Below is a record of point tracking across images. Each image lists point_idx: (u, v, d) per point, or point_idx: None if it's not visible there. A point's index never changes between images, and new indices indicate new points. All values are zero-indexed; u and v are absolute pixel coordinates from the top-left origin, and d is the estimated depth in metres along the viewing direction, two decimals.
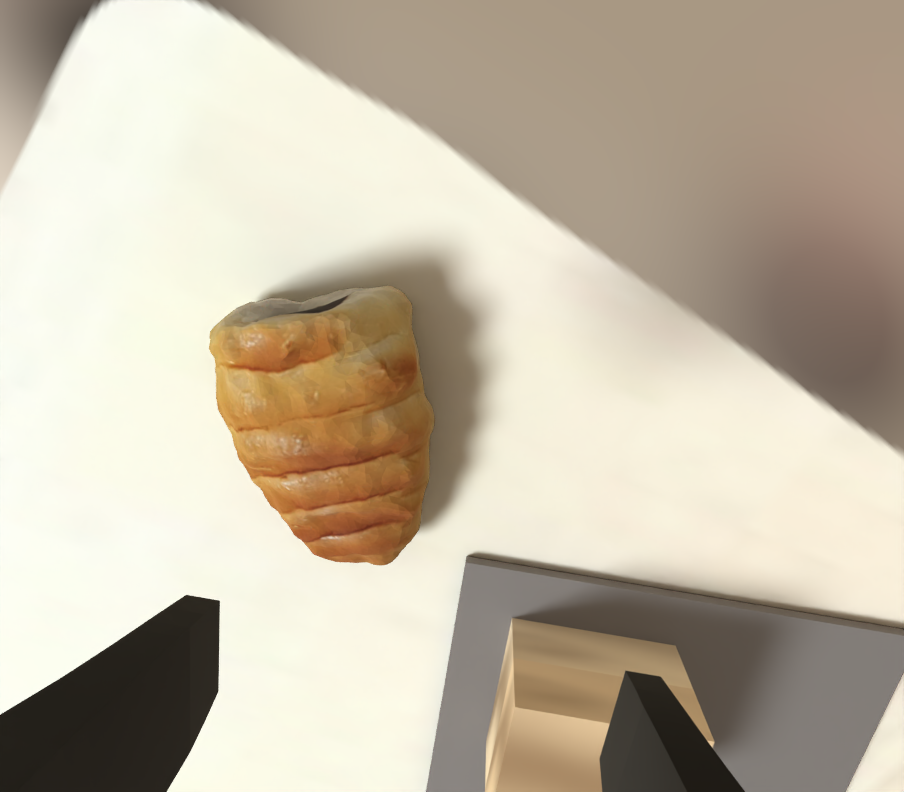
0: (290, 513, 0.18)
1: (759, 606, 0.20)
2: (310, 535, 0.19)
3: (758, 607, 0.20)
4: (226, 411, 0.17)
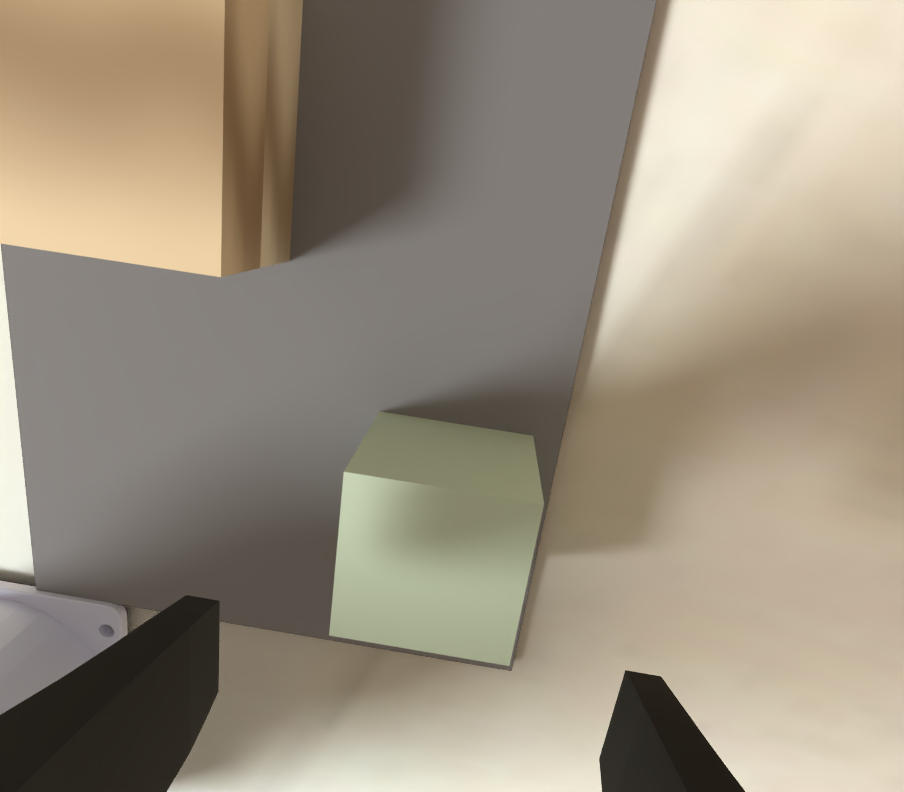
0: None
1: None
2: None
3: None
4: None
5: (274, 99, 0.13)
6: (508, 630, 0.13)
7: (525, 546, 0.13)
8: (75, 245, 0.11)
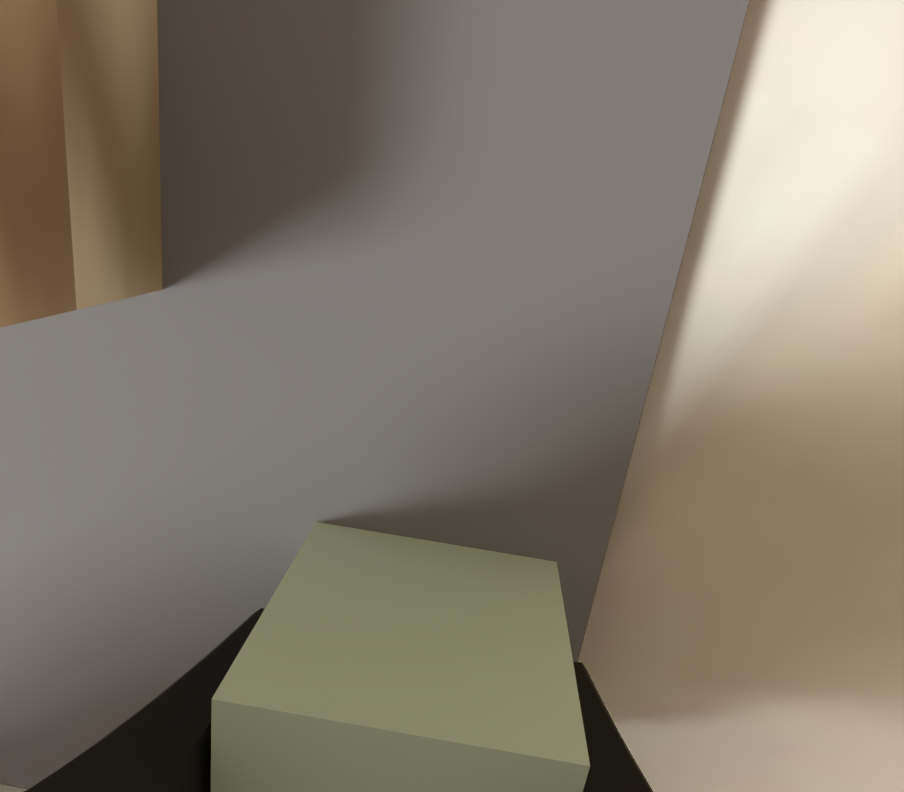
0: None
1: None
2: None
3: None
4: None
5: None
6: None
7: None
8: None
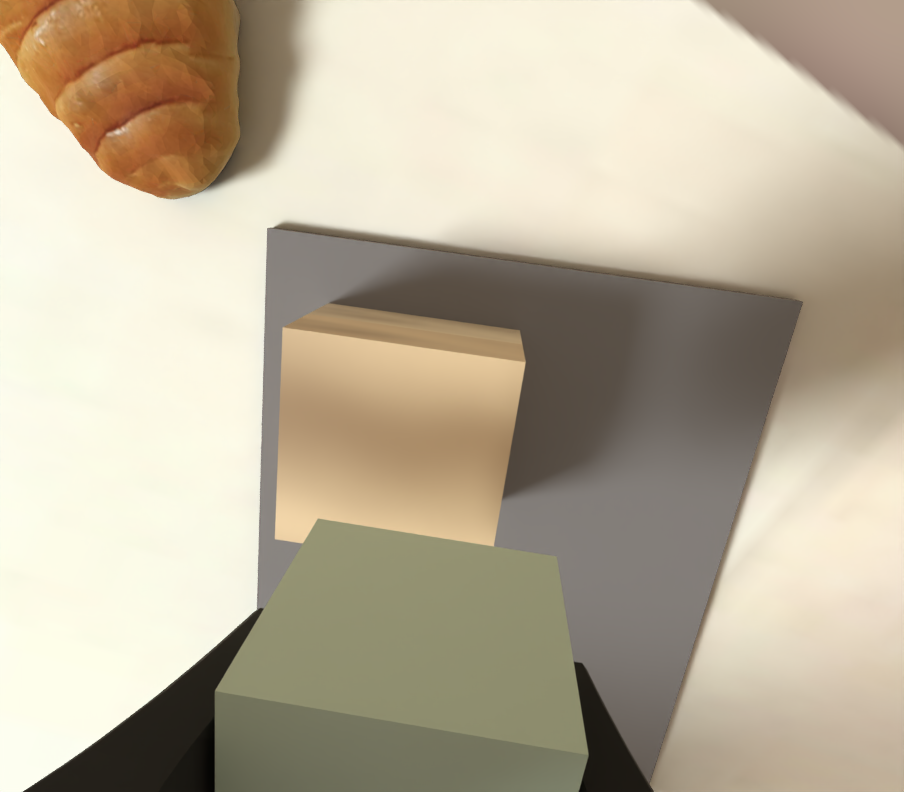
0: (61, 96, 0.15)
1: (615, 275, 0.17)
2: (94, 133, 0.15)
3: (612, 275, 0.17)
4: None
5: None
6: None
7: None
8: None
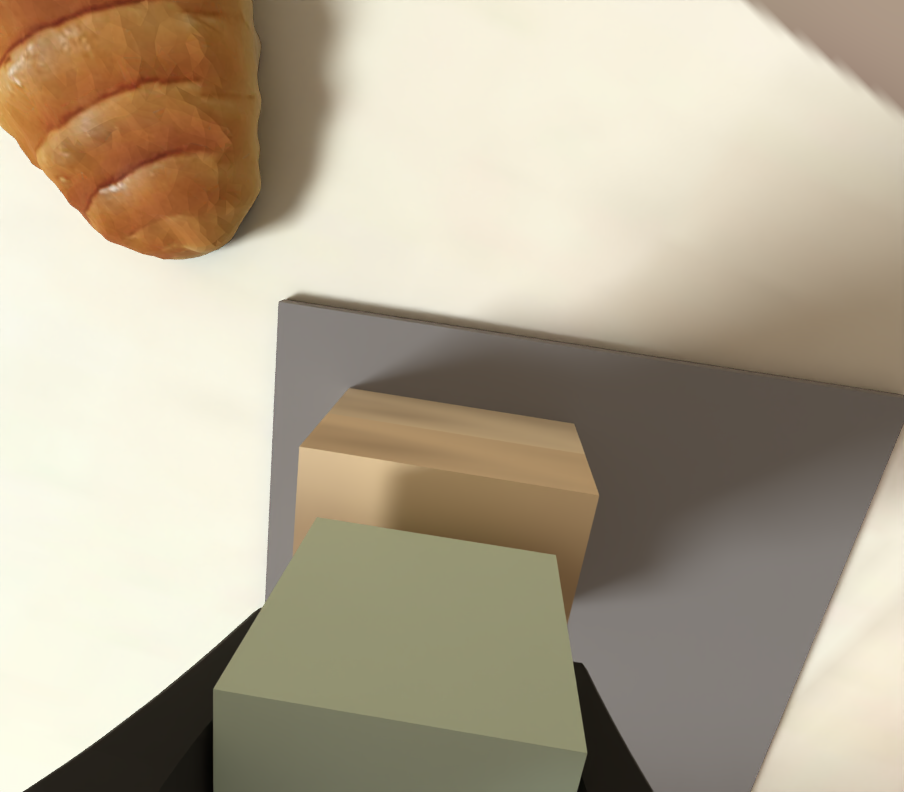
0: (43, 146, 0.12)
1: (688, 362, 0.15)
2: (84, 190, 0.12)
3: (686, 362, 0.15)
4: None
5: None
6: None
7: None
8: None
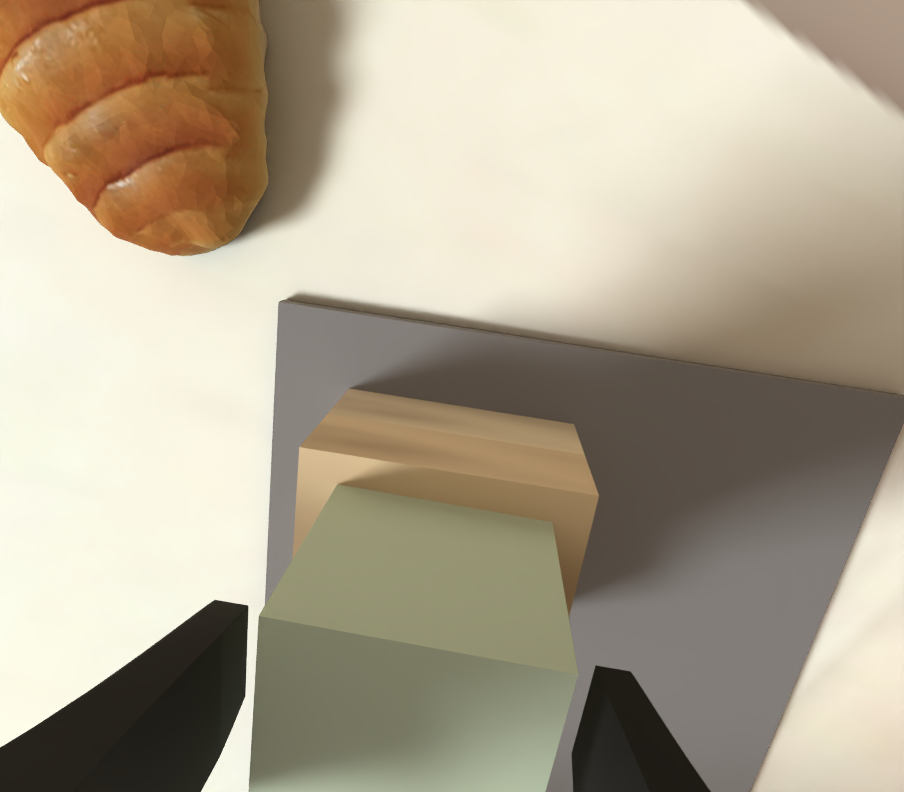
0: (50, 142, 0.12)
1: (688, 363, 0.15)
2: (92, 186, 0.12)
3: (686, 362, 0.15)
4: None
5: None
6: None
7: (546, 733, 0.08)
8: None
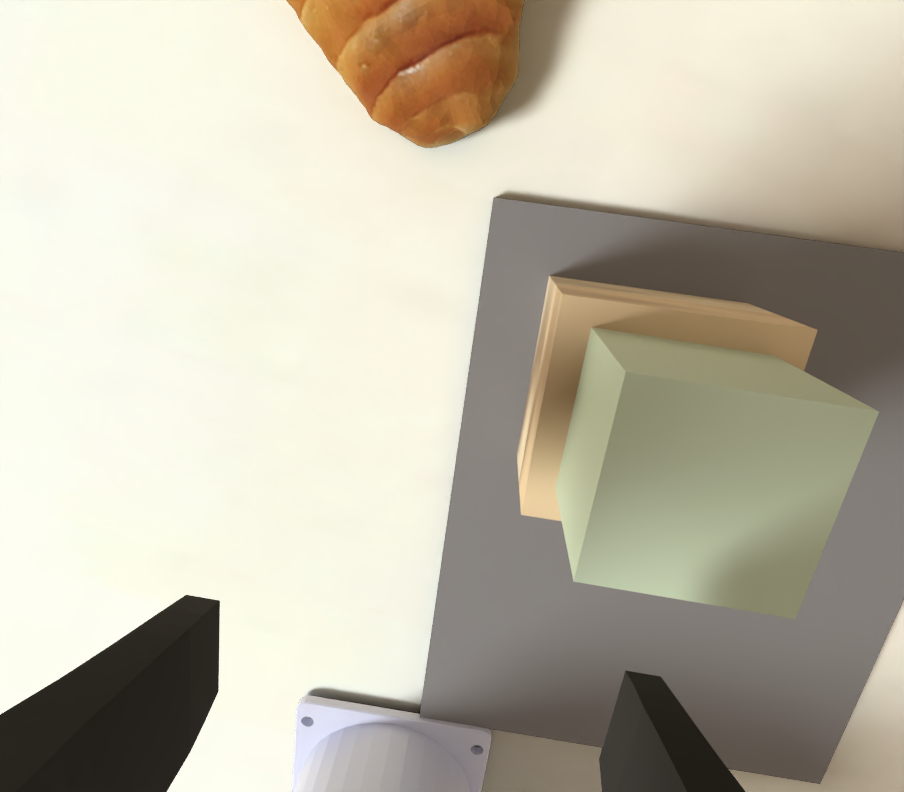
0: (356, 34, 0.14)
1: None
2: (384, 74, 0.15)
3: (850, 245, 0.17)
4: None
5: None
6: (802, 574, 0.11)
7: (844, 467, 0.10)
8: None
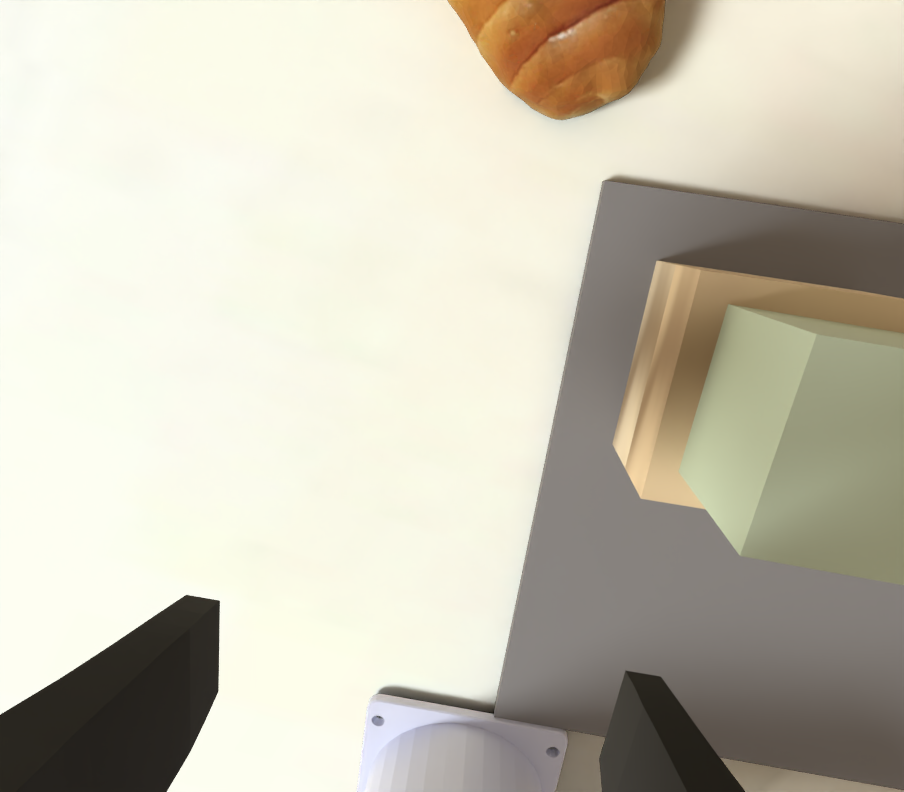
0: None
1: None
2: (533, 40, 0.14)
3: None
4: None
5: None
6: None
7: None
8: None
